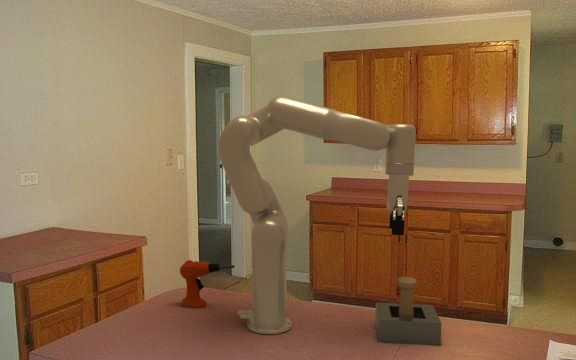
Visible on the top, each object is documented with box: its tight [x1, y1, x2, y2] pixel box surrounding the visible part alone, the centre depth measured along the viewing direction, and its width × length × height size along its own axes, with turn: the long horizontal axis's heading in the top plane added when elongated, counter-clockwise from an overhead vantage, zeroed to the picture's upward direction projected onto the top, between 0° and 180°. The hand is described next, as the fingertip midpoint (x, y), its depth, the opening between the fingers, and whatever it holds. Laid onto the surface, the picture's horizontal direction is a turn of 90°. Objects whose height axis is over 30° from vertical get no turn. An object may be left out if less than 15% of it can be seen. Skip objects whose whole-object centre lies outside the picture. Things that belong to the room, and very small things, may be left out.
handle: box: [397, 276, 417, 318], centre depth 139 cm, size 5×6×15 cm
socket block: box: [374, 302, 442, 346], centre depth 139 cm, size 16×14×6 cm
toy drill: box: [179, 259, 235, 309], centre depth 160 cm, size 5×19×15 cm, turn 78°
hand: (396, 231), depth 140 cm, fingers open, 9 cm apart
